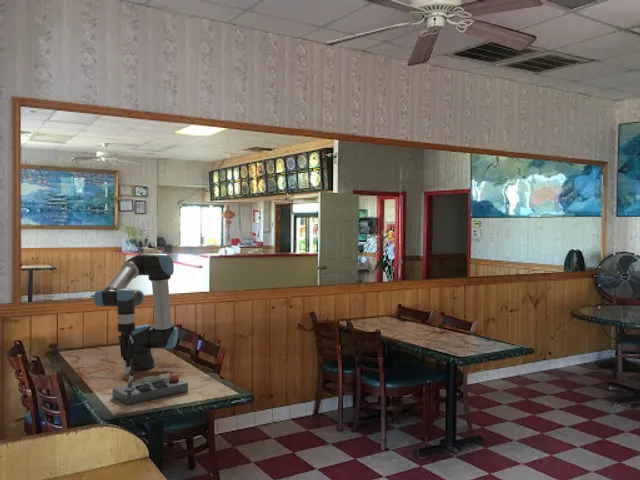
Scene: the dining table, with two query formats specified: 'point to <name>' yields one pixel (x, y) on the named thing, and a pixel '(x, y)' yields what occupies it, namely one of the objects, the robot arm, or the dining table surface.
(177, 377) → the button
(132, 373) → the lever
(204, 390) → the dining table surface
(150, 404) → the dining table surface
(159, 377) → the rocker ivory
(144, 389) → the panel
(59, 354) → the dining table surface
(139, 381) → the white flat block
